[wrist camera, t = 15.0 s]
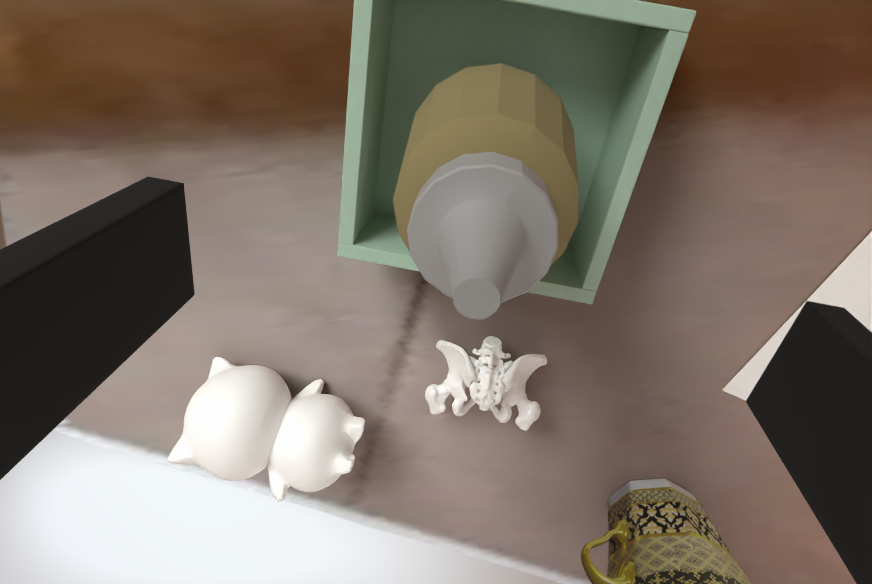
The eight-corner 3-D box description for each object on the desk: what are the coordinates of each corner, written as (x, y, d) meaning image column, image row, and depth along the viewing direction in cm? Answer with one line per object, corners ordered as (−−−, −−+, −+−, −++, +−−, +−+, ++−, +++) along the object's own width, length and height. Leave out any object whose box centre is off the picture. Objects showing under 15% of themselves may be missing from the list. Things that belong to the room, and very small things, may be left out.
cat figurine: (339, 513, 31) (141, 461, 30) (334, 520, 40) (183, 481, 40) (379, 378, 35) (205, 329, 34) (366, 413, 45) (230, 375, 44)
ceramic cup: (746, 499, 40) (815, 638, 31) (654, 561, 44) (692, 697, 36) (612, 422, 37) (645, 548, 29) (530, 496, 42) (537, 624, 33)
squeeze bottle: (478, 233, 31) (453, 465, 15) (388, 126, 28) (248, 270, 13) (596, 148, 28) (717, 330, 12) (506, 19, 25) (513, 37, 10)
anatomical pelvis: (418, 430, 35) (427, 357, 31) (427, 386, 38) (436, 315, 35) (536, 451, 34) (559, 379, 31) (534, 404, 38) (555, 335, 34)
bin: (385, -39, 25) (357, -50, 20) (659, 10, 25) (697, 10, 20) (362, 218, 32) (336, 256, 27) (578, 259, 32) (592, 305, 27)
